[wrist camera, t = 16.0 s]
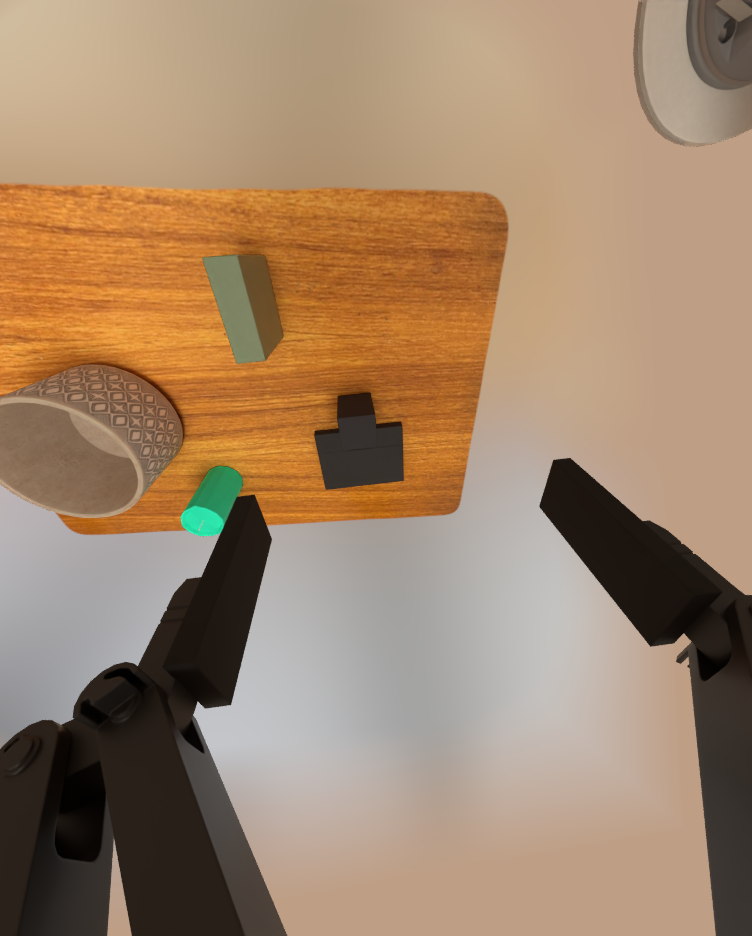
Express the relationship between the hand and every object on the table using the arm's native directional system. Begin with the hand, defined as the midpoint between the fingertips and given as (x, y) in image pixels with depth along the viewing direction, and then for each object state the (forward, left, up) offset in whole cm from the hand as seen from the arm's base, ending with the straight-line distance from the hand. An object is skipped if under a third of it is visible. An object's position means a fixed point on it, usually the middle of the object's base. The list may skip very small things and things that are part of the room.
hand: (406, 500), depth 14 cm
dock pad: (+2, +19, -35) cm, 39 cm away
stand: (+12, -6, -35) cm, 37 cm away
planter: (+36, +8, -35) cm, 51 cm away
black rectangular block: (+2, +12, -35) cm, 37 cm away
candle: (+26, +21, -35) cm, 48 cm away
